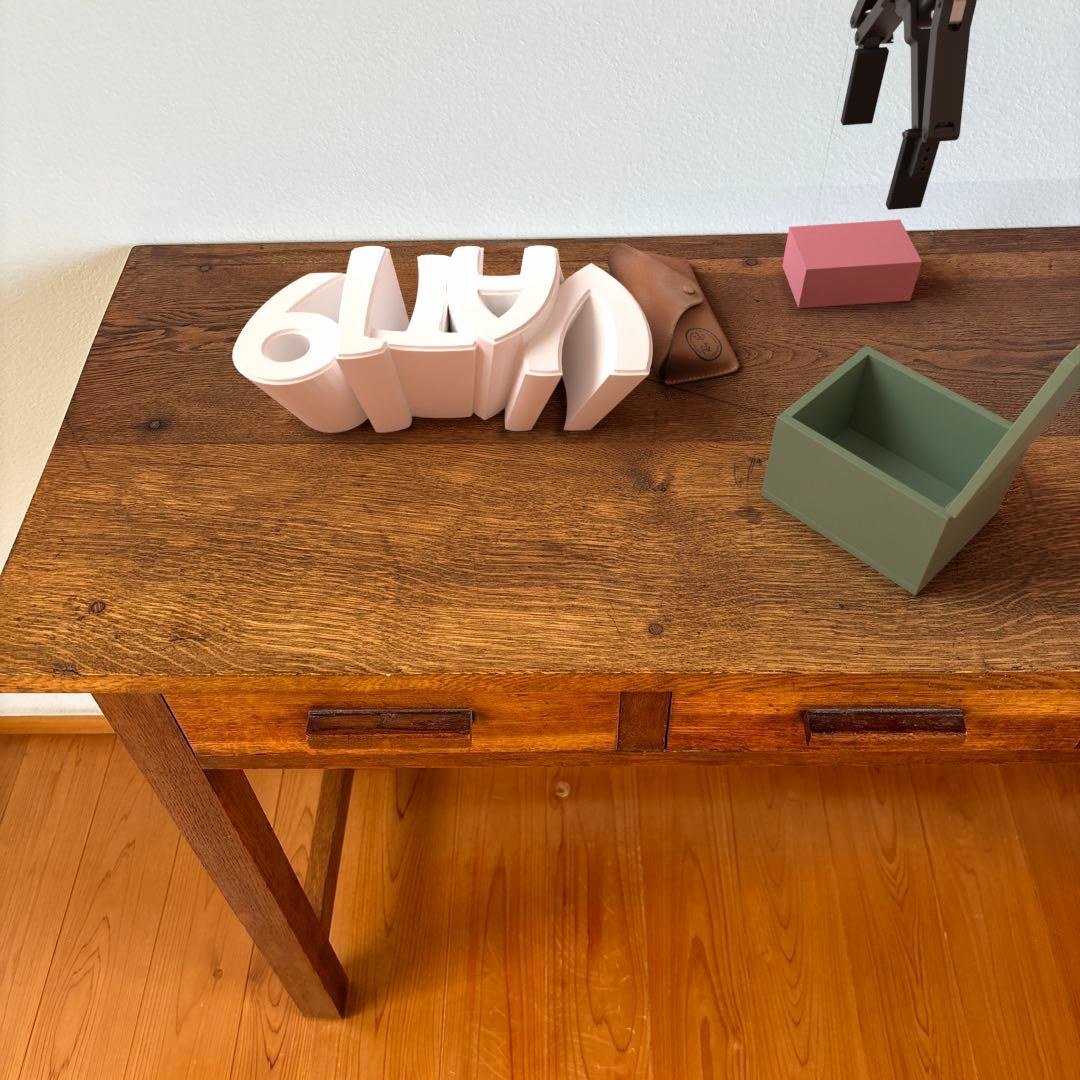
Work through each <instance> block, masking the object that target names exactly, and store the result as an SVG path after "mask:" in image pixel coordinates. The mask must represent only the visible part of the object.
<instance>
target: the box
mask: <svg viewBox="0 0 1080 1080" xmlns="http://www.w3.org/2000/svg"><path fill="white" fill-rule="evenodd" d="M1013 424H1014V423H1013V422H1012V421H1009V420H1008V419H1006V418H1004V417H1002V416H1000V415H998V414H996V413H994V412H993V411H990V410H989V409H987V408H985V407H983V406H981V405H979V404H977V403H976V402H974V401H972V400H970V399H969V398H966V397H964V396H963V395H961V394H960V393H957V392H955V391H953V390H952V389H950V388H948V387H946V386H944V385H942V384H940V383H939V382H936V381H934V380H933V379H931V378H929V377H927V376H925V375H923V374H922V373H919V372H917V371H916V370H914V369H913V368H910V367H908V366H906V365H905V364H903V363H900V362H899V361H897V360H895V359H893V358H892V357H890V356H887V355H886V354H884V353H882V352H880V351H879V350H877V349H874V348H873V347H871V346H869V345H867V344H866V345H864V346H863V347H862V348H861V349H859V350H858V351H857V352H856V353H855V354H854V355H852V356H851V357H850V358H848V359H847V360H846V361H844V362H843V363H842V364H841V365H839V366H838V367H837V368H836V369H835V370H834V371H832V372H831V373H830V374H828V375H827V376H826V377H825V378H824V379H822V380H821V381H820V382H818V383H817V384H816V385H814V387H811V389H810V390H808V391H807V392H806V393H805V394H804V395H802V396H801V397H800V398H798V399H797V400H796V401H795V402H794V403H792V404H791V405H790V406H789V407H787V408H786V409H785V410H783V412H781V413H780V414H779V415H777V416H776V420H775V425H774V429H773V435H772V439H771V444H770V449H769V453H768V460H767V464H766V468H765V473H764V477H763V483H762V486H761V492H760V496H762V497H763V498H765V499H766V500H768V501H769V502H770V503H772V504H774V505H775V506H776V507H778V508H780V509H782V510H783V511H784V512H786V513H788V514H789V515H791V516H792V517H794V518H795V519H796V520H798V521H800V522H801V523H803V524H805V526H807V527H809V528H810V529H812V530H813V531H814V532H817V533H818V534H819V535H821V536H823V537H824V538H826V539H827V540H829V541H831V542H832V543H834V544H835V545H836V546H837V547H840V548H841V549H842V550H843V551H845V552H847V553H849V554H850V555H851V556H853V557H855V558H857V559H858V560H859V561H861V562H863V563H864V564H865V565H867V566H868V567H870V568H872V569H873V570H874V571H876V572H877V573H880V574H881V575H882V576H884V577H885V578H887V579H888V580H890V581H891V582H893V583H895V584H896V585H898V587H901V588H902V589H903V590H905V591H907V592H909V593H910V594H911V595H913V596H917V595H918V594H919V593H920V592H921V591H922V590H923V589H924V588H925V587H926V586H927V585H928V584H929V583H930V582H931V581H932V580H933V579H934V578H935V577H936V575H938V573H939V572H940V571H942V570H943V569H944V568H945V566H946V565H947V564H948V563H950V561H951V560H952V559H954V557H955V556H957V554H958V553H959V552H960V551H961V550H962V549H964V547H965V546H966V545H968V543H969V542H970V541H971V540H972V539H973V538H974V537H975V536H976V535H977V534H978V533H979V532H980V531H981V529H983V528H984V526H986V525H987V524H988V523H989V521H991V519H993V517H994V516H996V515H997V513H998V511H999V509H1000V507H1001V505H1002V503H1003V501H1004V500H1005V499H1004V498H1005V496H1006V494H1007V493H1008V491H1009V488H1010V486H1011V485H1012V482H1013V480H1014V479H1015V476H1016V474H1017V472H1018V470H1019V467H1020V466H1021V464H1022V461H1023V460H1024V457H1025V455H1026V453H1027V451H1028V449H1029V447H1030V445H1029V446H1028V447H1027V448H1026V449H1025V450H1024V451H1023V452H1022V453H1021V454H1020V455H1019V456H1018V457H1017V458H1016V459H1015V460H1014V461H1013V462H1012V463H1011V464H1010V465H1009V466H1008V467H1007V468H1006V469H1005V470H1004V471H1003V472H1002V473H1001V474H1000V475H999V476H998V477H997V478H996V479H995V480H994V481H993V482H992V483H991V484H990V485H989V486H988V487H987V488H986V489H985V490H984V491H983V492H982V493H981V494H980V495H979V496H978V497H977V498H976V499H975V500H974V501H973V502H972V503H971V504H970V505H969V506H968V507H967V508H966V509H965V510H964V511H963V512H962V513H961V514H960V515H959V516H958V517H957V518H953V517H952V516H951V515H949V514H948V513H947V512H946V511H947V509H948V508H949V507H950V506H951V504H952V503H953V502H954V500H955V499H956V498H957V497H958V495H959V494H960V493H961V491H962V490H963V489H964V487H965V486H966V485H967V484H968V482H969V481H970V480H971V478H972V477H973V476H974V475H975V473H976V472H977V471H978V469H979V468H980V467H981V465H982V464H983V463H984V462H985V460H986V459H987V458H988V456H989V455H990V454H991V453H992V451H993V450H994V449H995V447H996V446H997V445H998V443H999V442H1000V441H1001V440H1002V438H1003V437H1004V436H1005V434H1006V433H1007V432H1008V431H1009V429H1010V428H1011V427H1012V425H1013Z"/></svg>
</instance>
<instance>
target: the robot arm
mask: <svg viewBox="0 0 1080 1080" xmlns="http://www.w3.org/2000/svg"><path fill="white" fill-rule="evenodd" d="M977 1H978V0H857V1H856V4H855V6H854V8H853V11H852V13H851V16H850V19H849V25H850V28H851V29H852V30H853V29H856V31H855V33H854V39H853V40H854V45H855V46H857V48H855V50H854V55H853V60H852V63H851V64H852V65H851V69H850V74H849V77H848V78H849V79H848V82H847V83H848V84H847V88H846V93H845V98H844V103H843V107H842V112H841V118H840V123H841V125H842V126H855V125H856V126H857V125H869V124H873V122H874V117H875V113H876V109H877V104H878V100H879V97H880V92H881V88H882V83H883V79H884V75H885V71H886V67H887V62H888V59H889V53H890V50H889V48H888V47H887V46H881V45H889V44H894V43H895V41H894V40H895V39H894V32H895V31H896V30H897V29H898V28H899V26H900V25H901V24H902V23H903V41H904V42H905V44H907V45H908V46H909V47H910V103H911V104H910V111H911V113H910V115H911V117H910V119H911V120H910V121H911V123H910V125H911V128H907V129H904V131H902V132H901V136H902V140H901V144H900V148H899V152H898V155H897V158H896V159H897V160H896V163H895V166H894V171H893V174H892V179H891V182H890V186H889V189H888V193H887V197H886V200H885V206H886V208H887V210H889V211H891V210H903V209H916V208H917V209H918V208H921V207H922V205H923V201H924V198H925V194H926V191H927V188H928V185H929V184H928V183H929V180H930V177H931V174H932V171H933V167H934V164H935V161H936V157H937V153H938V150H939V147H940V143H941V142H953V141H958V140H959V139H960V136H961V129H962V128H961V126H962V117H963V108H964V98H965V97H964V95H965V86H966V77H967V76H966V75H967V66H968V55H969V44H970V37H971V35H970V34H971V28H972V23H973V19H974V16H975V15H974V14H975V11H976V7H977V6H976V5H977Z"/></svg>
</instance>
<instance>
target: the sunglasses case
mask: <svg viewBox="0 0 1080 1080" xmlns="http://www.w3.org/2000/svg"><path fill="white" fill-rule="evenodd" d="M606 261H607V262H606V263H607V266H608V270H609V272H610V275H611V276H612V277H613V278H615V279H616V280H617V281H618V282H619V283H620V284H622V285H623V286H624V287H625V288H626V289H627V290H628V292H629V293H630V294H631V295H632V296H633V297H634V299H635V300H636V301H637V303H638V304H639V306H640V307H641V309H642V311H643V313H644V314H645V317H646V319H647V322H648V324H649V328H650V332H651V337H652V347H653V354H652V363H651V366H652V369H653V371H654V373H655V375H656V377H657V378H658V379H659V380H660V381H661V382H662V383H663V384H664V385H666V386H674V385H680V384H691V383H695V382H701V381H705V380H710V379H713V378H718V377H721V376H726V375H730V374H733V373H735V372H737V371H738V370H739V369H740V363H739V360H738V357H737V355H736V353H735V351H734V349H733V347H732V346H731V344H730V341H729V339H728V338H727V337H726V334H725V332H724V330H723V329H722V327H721V325H720V323H719V322H718V319H717V318H716V316H715V313H714V311H713V310H712V308H711V305H710V304H709V302H708V299H707V298H706V296H705V294H704V292H703V290H702V288H701V286H700V283H699V281H698V280H697V279H698V278H697V277H696V275H695V273H694V271H693V268H692V265H691V263H690V262H689V260H688V259H687V258H684V257H682V258H678V257H673V256H667V255H663V254H659V253H654V252H650V251H649V252H648V251H645V250H639V249H637V248H635V247H633V246H630V245H629V244H627V243H618V244H617V245H615V246H614V247H613V248H612V249H611V250H610V252H609V253H608V256H607V260H606Z"/></svg>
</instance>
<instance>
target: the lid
mask: <svg viewBox="0 0 1080 1080" xmlns="http://www.w3.org/2000/svg"><path fill="white" fill-rule="evenodd" d="M1079 388H1080V343H1079V344H1078V345H1077V346H1076V347H1075V348H1073V349H1072V350H1071V351H1070V352H1069V353H1068V354H1066V356H1065V357H1064V358H1063V359H1062V360H1061V362H1060V363H1059V365H1058V366H1057V367H1056V368H1055V370H1054V371H1053V372H1052V374H1050V376H1049V377H1048V379H1047V380H1046V382H1045V383H1044V384H1043V385H1042V387H1040V389H1039V390H1038V392H1037V393H1036V394H1035V395H1034V396H1033V398H1032V399H1031V401H1030V402H1029V403H1028V405H1027V406H1026V407H1025V409H1024V410H1023V411H1022V412H1021V414H1019V416H1018V417H1017V419H1016V420H1015V421H1014V423H1013V425H1012V427H1011V428H1010V429H1009V431H1008V432H1007V433H1006V434H1005V436H1004V437H1003V438H1002V440H1001V441H1000V442H999V443H998V445H997V446H996V447H995V449H994V450H993V451H992V453H991V454H990V455H989V456H988V458H987V459H986V460H985V462H984V463H983V464H982V465H981V467H980V468H979V469H978V471H977V472H976V473H975V475H974V476H973V477H972V478H971V480H970V481H969V482H968V484H967V485H966V486H965V487H964V489H963V490H962V491H961V493H960V494H959V495H958V497H957V498H956V499H955V500H954V502H953V503H952V504H951V506H950V507H949V508H948V509H947V511H946V512H947V513H948V514H949V515H951V516H952V517H953V518H957V517H958V516H959V515H960V514H961V513H962V512H963V511H964V510H965V509H966V508H967V507H968V506H969V505H970V504H971V503H972V502H973V501H974V500H975V499H976V498H977V497H978V496H979V495H980V494H981V493H982V492H983V491H984V490H985V489H986V488H987V487H988V486H989V485H990V484H991V483H992V482H993V481H994V480H995V479H996V478H997V477H998V476H999V475H1000V474H1001V473H1002V472H1003V471H1004V470H1005V469H1006V468H1007V467H1008V466H1009V465H1010V464H1011V463H1012V462H1013V461H1014V460H1015V459H1016V458H1017V457H1018V456H1019V455H1020V454H1021V453H1022V452H1023V451H1024V450H1025V449H1026V448H1027V447H1028V446H1029V447H1030V446H1031V445H1032V444H1033V443H1034V442H1035V441H1036V440H1037V439H1038V438H1039V437H1040V436H1041V435H1042V434H1043V432H1045V430H1046V429H1047V428H1048V427H1049V426H1050V424H1051V423H1052V422H1053V421H1054V419H1056V417H1057V415H1058V414H1059V413H1060V412H1061V411H1062V410H1063V408H1064V407H1065V406H1066V404H1067V403H1068V402H1069V401H1070V400H1071V399H1072V397H1073V396H1074V395H1075V393H1076V392H1078V390H1079ZM1029 447H1028V448H1029Z"/></svg>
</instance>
